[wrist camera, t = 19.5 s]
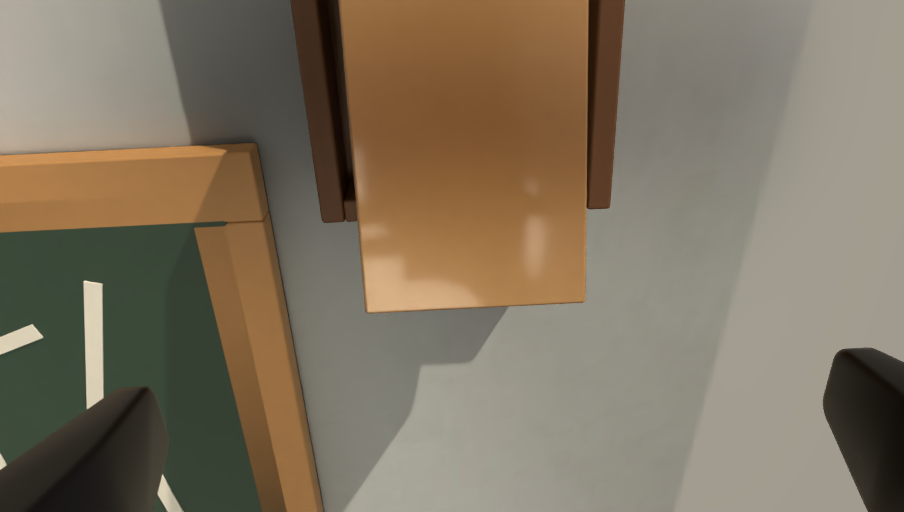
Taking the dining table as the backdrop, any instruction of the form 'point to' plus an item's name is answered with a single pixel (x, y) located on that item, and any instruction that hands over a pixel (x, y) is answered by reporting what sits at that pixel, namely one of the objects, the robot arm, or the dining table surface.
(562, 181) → the eraser
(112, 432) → the robot arm
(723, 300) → the dining table surface
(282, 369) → the chalkboard
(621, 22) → the chalk tray
